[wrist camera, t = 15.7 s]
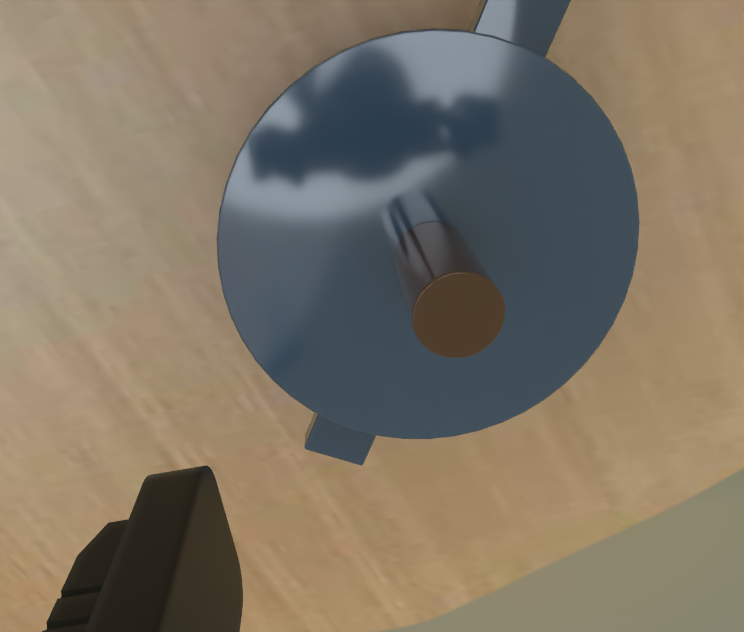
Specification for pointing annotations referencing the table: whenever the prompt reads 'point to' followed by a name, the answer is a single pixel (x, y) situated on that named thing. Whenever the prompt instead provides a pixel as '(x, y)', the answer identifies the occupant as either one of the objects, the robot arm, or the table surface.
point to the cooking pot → (493, 17)
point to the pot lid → (428, 233)
